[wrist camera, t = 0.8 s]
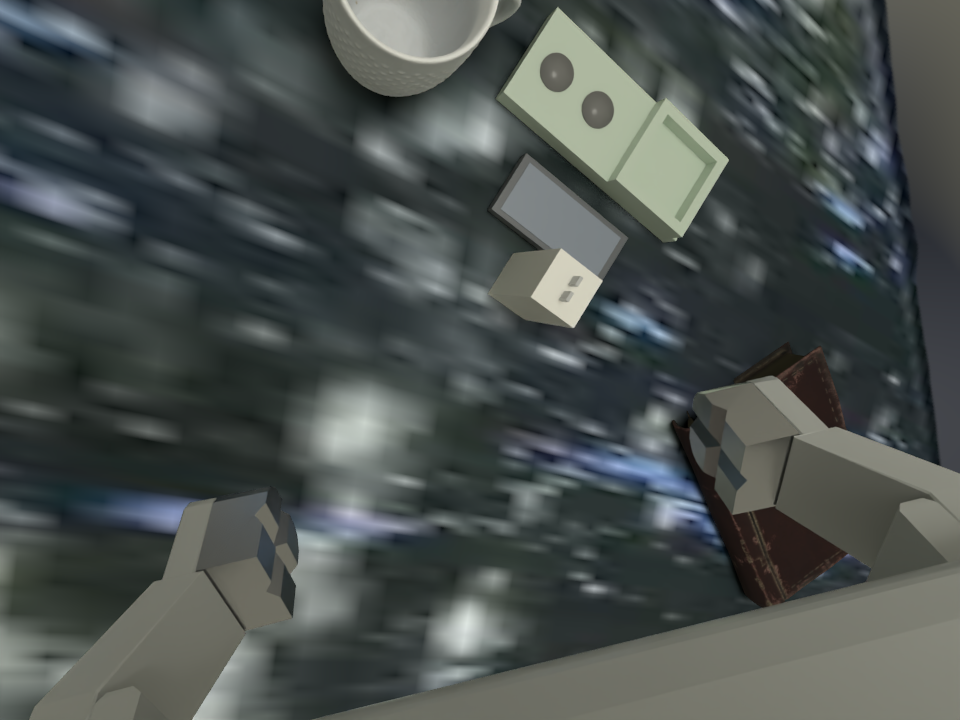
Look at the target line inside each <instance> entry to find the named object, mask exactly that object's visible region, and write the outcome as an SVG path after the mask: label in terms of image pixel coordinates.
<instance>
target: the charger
mask: <svg viewBox="0 0 960 720" xmlns="http://www.w3.org/2000/svg"><path fill="white" fill-rule="evenodd" d="M601 283H602V280H601V279H600V278H599V277H597V276H596V275H595V274H593V273H592V272H591V271H590V270H588V269H587V268H586V267H585V266H583V265H582V264H581V263H579V262H578V261H577V260H576V259H574V258H573V257H572V256H570V255H569V254H568V253H567V252H565V251H564V250H563V249H561V248H558V249H549V250H540V251H530V252H521V253H513V254H512V256H511V258H510V259H509V261H508V262H507V264H506V265H505V267H504V269H503V270H502V272H501V273H500V275H499V277H498V278H497V280H496V281H495V283H494V285H493V286H492V288H491V289H490V291H489V293H488V294H489V295H490V296H492V297H493V298H494V299H496V300H497V301H499V302H500V303H501V304H503V305H504V306H506V307H507V308H509V309H510V310H511V311H513V312H514V313H516V314H517V315H518V316H520V317H521V318H523V319H524V320H529V321H534V322H540V323H546V324H552V325H558V326H564V327H569V328H574V327H575V325H576V324H577V322H578V320H579V319H580V317H581V315H582V314H583V312H584V311H585V309H586V307H587V306H588V304H589V302H590V301H591V299H592V297H593V296H594V294H595V293H596V291H597V289H598V288H599V286H600V284H601Z"/></svg>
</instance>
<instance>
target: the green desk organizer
mask: <svg viewBox="0 0 960 720" xmlns="http://www.w3.org/2000/svg"><path fill="white" fill-rule="evenodd" d="M495 99H496V100H497V101H499V102H500V103H501V104H502V105H503V106H504V107H506V108H507V109H508V110H509V111H510V112H511V113H513V114H514V115H515V116H516V117H517V118H518V119H520V120H521V121H522V122H523V123H524V124H526V125H527V126H528V127H529V128H530V129H531V130H533V131H534V132H535V133H536V134H537V135H538V136H540V137H541V138H542V139H543V140H544V141H545V142H547V143H548V144H549V145H550V146H551V147H552V148H554V149H555V150H556V151H557V152H558V153H559V154H561V155H562V156H563V157H564V158H565V159H566V160H568V161H569V162H570V163H571V164H572V165H573V166H575V167H576V168H577V169H578V170H579V171H580V172H582V173H583V174H584V175H585V176H586V177H587V178H589V179H590V180H591V181H592V182H593V183H594V184H596V185H597V186H598V187H599V188H600V189H601V190H603V191H604V192H605V193H606V194H607V195H608V196H610V197H611V198H612V199H613V200H614V201H615V202H617V203H618V204H619V205H620V206H621V207H622V208H624V209H625V210H626V211H627V212H628V213H630V214H631V215H632V216H633V217H634V218H635V219H637V220H638V221H639V222H640V223H641V224H642V225H644V226H645V227H646V228H647V229H648V230H649V231H651V232H652V233H653V234H654V235H655V236H656V237H658V238H659V239H660V240H661V241H662V242H672V241H676V240H677V238H679V237H682V236H683V235H684V233H685V232H686V230H687V228H688V227H689V225H690V223H691V222H692V220H693V218H694V217H695V215H696V213H697V212H698V210H699V208H700V207H701V205H702V203H703V202H704V200H705V199H706V197H707V195H708V194H709V192H710V190H711V189H712V187H713V185H714V184H715V182H716V180H717V179H718V177H719V175H720V174H721V172H722V171H723V169H724V167H725V166H726V164H727V162H728V161H729V159H728V158H727V157H726V156H725V155H724V154H723V153H722V152H721V151H719V150H718V149H717V148H716V147H715V146H714V145H713V144H712V143H711V142H710V141H709V140H708V139H707V138H706V137H705V136H704V135H703V134H702V133H701V132H700V131H699V130H698V129H697V128H696V127H695V126H694V125H693V124H692V123H691V122H690V121H689V120H688V119H687V118H686V117H685V116H684V115H683V114H682V113H681V112H680V111H679V110H678V109H677V108H676V107H675V106H674V105H673V104H672V103H671V102H670V101H669V100H668V99H666V98H665V99H663V100H661V101H659V102H655V101H654V100H653V99H652V98H651V97H650V96H649V95H648V94H647V93H646V92H645V91H644V90H643V89H642V88H641V87H640V86H639V85H637V84H636V83H635V82H634V81H633V80H632V79H631V78H630V77H629V76H628V75H627V74H626V73H625V72H624V71H623V70H622V69H621V68H620V67H619V66H618V65H617V64H616V63H615V62H614V61H613V60H612V59H611V58H610V57H609V56H608V55H607V54H605V53H604V52H603V51H602V50H601V49H600V48H599V47H598V46H597V45H596V44H595V43H594V42H593V41H592V40H591V39H590V38H589V37H588V36H587V35H586V34H585V33H584V32H583V31H582V30H581V29H580V28H579V27H578V26H577V25H576V24H575V23H574V22H572V21H571V20H570V19H569V18H568V17H567V16H566V15H565V14H564V13H563V12H562V11H561V10H560V9H559V8H558V7H557V8H556V9H555V10H554V11H553V12H552V13H551V14H550V15H549V16H548V17H547V19H546V20H545V22H544V24H543V25H542V27H541V28H540V30H539V31H538V33H537V34H536V36H535V38H534V39H533V41H532V42H531V44H530V45H529V47H528V49H527V50H526V52H525V53H524V55H523V56H522V58H521V59H520V61H519V63H518V64H517V66H516V67H515V69H514V70H513V72H512V73H511V75H510V77H509V78H508V80H507V81H506V83H505V84H504V86H503V88H502V89H501V91H500V92H499V94H498V95H497V97H496V98H495Z"/></svg>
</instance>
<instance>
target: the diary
mask: <svg viewBox="0 0 960 720" xmlns="http://www.w3.org/2000/svg"><path fill="white" fill-rule="evenodd" d="M767 376H774V377H776V378H778V379H779V380H780V381H781V382H782V383H783V384H784V385H785V386H786V387H787V388H788V389H789V390H790V391H791V392H792V393H794V394H795V395H796V396H797V397H798V398H799V399H800V400H801V401H802V402H803V403H804V404H805V405H806V406H807V407H808V408H809V409H810V410H811V411H812V412H813V413H814V414H815V415H816V416H817V417H818V418H819V419H820V420H821V421H822V422H823V423H824V424H825V425H826V426H827V427H828V428H833V427H838V428H841V429H843V430H846V426H845V422H844V418H843V414H842V410H841V406H840V402H839V399H838V396H837V393H836V390H835V387H834V384H833V381H832V378H831V375H830V372H829V369H828V366H827V363H826V360H825V357H824V354H823V351H822V348H821V346H819V347H817V348H816V349H814V350H813V351H811V352H810V353H809V354H807V355H806V356H800V355H793V354H792V351H791V348H790V345H789V342H787V343H785V344H784V345H783V346H781V347H780V348H778V349H777V350H775V351H774V352H773V353H771V354H770V355H768V356H767V357H765V358H764V359H762V360H761V361H760V362H758V363H757V364H755V365H754V366H752V367H751V368H749V369H748V370H747V371H745V372H744V373H742V374H741V375H739V376H738V377H736V378H735V379H734V383H735V384H738V383H742V382H746V381H750V380H754V379H758V378H763V377H767ZM687 414H688V417H689V419H688V428H683V427H680V426H678V425H677V423H676V422H675V421H674V420H672V424H673V426H674V428H675V431H676V433H677V435H678V437H679V439H680V442H681V444H682V446H683V448H684V451H685V453H686V455H687V457H688V459H689V462H690V464H691V466H692V468H693V471H694V473H695V476H696V478H697V481H698V483H699V486H700V488H701V491H702V493H703V495H704V498H705V500H706V503H707V505H708V508H709V510H710V513H711V515H712V518H713V520H714V522H715V524H716V526H717V529H718V531H719V533H720V535H721V537H722V539H723V542H724V544H725V546H726V548H727V550H728V553H729V555H730V558H731V560H732V563H733V565H734V568H735V570H736V573H737V576H738V578H739V581H740V583H741V586H742V588H743V591H744V593H745V595H746V596H747V597H748V598H749V599H750V600H751V601H753V602H754V603H756V604H757V605H759V606H760V607H762V608H765V607H769V606H773V605H777V604H781V603H783V602H785V599H788V598H790V597H791V596H792V595H793V594H795V593H796V592H797V591H798V590H800V589H801V588H802V587H804V586H805V585H807V584H808V583H809V582H811V581H812V580H814V579H815V578H817V577H818V576H819V575H821V574H822V573H824V572H825V571H826V570H828V569H829V568H830V567H832V566H833V565H834V564H835V563H837V562H838V561H839V560H841V559H842V558H843V557H844V556H846V555H847V554H848V553H847V552H845V551H843V550H842V549H840V548H838V547H837V546H835V545H834V544H832V543H830V542H829V541H827V540H826V539H824V538H822V537H821V536H819V535H818V534H816V533H814V532H813V531H811V530H810V529H808V528H806V527H805V526H803V525H802V524H800V523H798V522H797V521H795V520H793V519H792V518H790V517H789V516H787V515H785V514H784V513H782V512H781V511H779V510H777V509H776V506H774V507H769V508H764V509H759V510H754V511H749V512H744V513H740V514H735V515H732V514H731V512H730V511H729V509H728V508H727V506H726V505H725V503H724V502H723V500H722V499H721V498H720V496H719V495H718V493H717V492H716V490H715V489H714V488H715V481H716V478H715V477H713V476H711V475H709V474H707V473H705V472H703V471H702V469H701V468H700V466H699V465H698V463H697V462H696V459H695V457H694V455H693V453H692V448H691V444H690V439H689V438H690V426H691V424H692V423H693V422H694V421H693V419H692V418H690V416H689V413H688V411H687ZM846 431H847V430H846Z"/></svg>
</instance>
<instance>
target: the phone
mask: <svg viewBox="0 0 960 720" xmlns="http://www.w3.org/2000/svg"><path fill="white" fill-rule="evenodd" d="M487 211H489V212H490V213H491V214H492V215H494V216H495V217H496V218H498V219H499V220H500V221H502V222H503V223H504V224H505V225H507V226H508V227H509V228H511V229H512V230H513V231H515V232H516V233H517V234H518V235H520V236H521V237H522V238H524V239H525V240H526V241H528V242H529V243H530V244H532V245H533V246H534V247H535V248H537V249H538V250H539V251H540V250H549V249H558V248H561V249H563V250H564V251H565V252H567V253H568V254H569V255H570V256H572V257H573V258H574V259H576V260H577V261H578V262H579V263H581V264H582V265H583V266H585V267H586V268H587V269H588V270H590V271H591V272H592V273H593V274H595V275H596V276H597V277H599V278H600V279H601V280H603V278H604V277H605V275H606V273H607V272H608V270H609V268H610V267H611V265H612V264H613V262H614V260H615V259H616V257H617V255H618V254H619V252H620V251H621V249H622V247H623V246H624V244H625V242H626V241H627V239H628V237H626V236H625V235H624V234H623V233H622V232H620V231H619V230H618V229H617V228H616V227H614V226H613V225H612V224H611V223H610V222H608V221H607V220H606V219H605V218H604V217H602V216H601V215H600V214H599V213H598V212H596V211H595V210H594V209H593V208H592V207H590V206H589V205H588V204H587V203H586V202H584V201H583V200H582V199H581V198H580V197H578V196H577V195H576V194H575V193H574V192H572V191H571V190H570V189H569V188H568V187H566V186H565V185H564V184H563V183H562V182H560V181H559V180H558V179H557V178H556V177H554V176H553V175H552V174H551V173H550V172H548V171H547V170H546V169H545V168H544V167H542V166H541V165H540V164H539V163H538V162H536V161H535V160H534V159H533V158H532V157H530V156H529V155H528V154H527V153H526V154H524V155H522V156H521V158H520V159H519V161H518V162H517V164H516V165H515V167H514V169H513V170H512V172H511V173H510V175H509V176H508V178H507V180H506V181H505V183H504V184H503V186H502V188H501V189H500V191H499V192H498V194H497V195H496V197H495V199H494V200H493V202H492V203H491V205H490V207H489V208H488V210H487Z"/></svg>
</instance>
